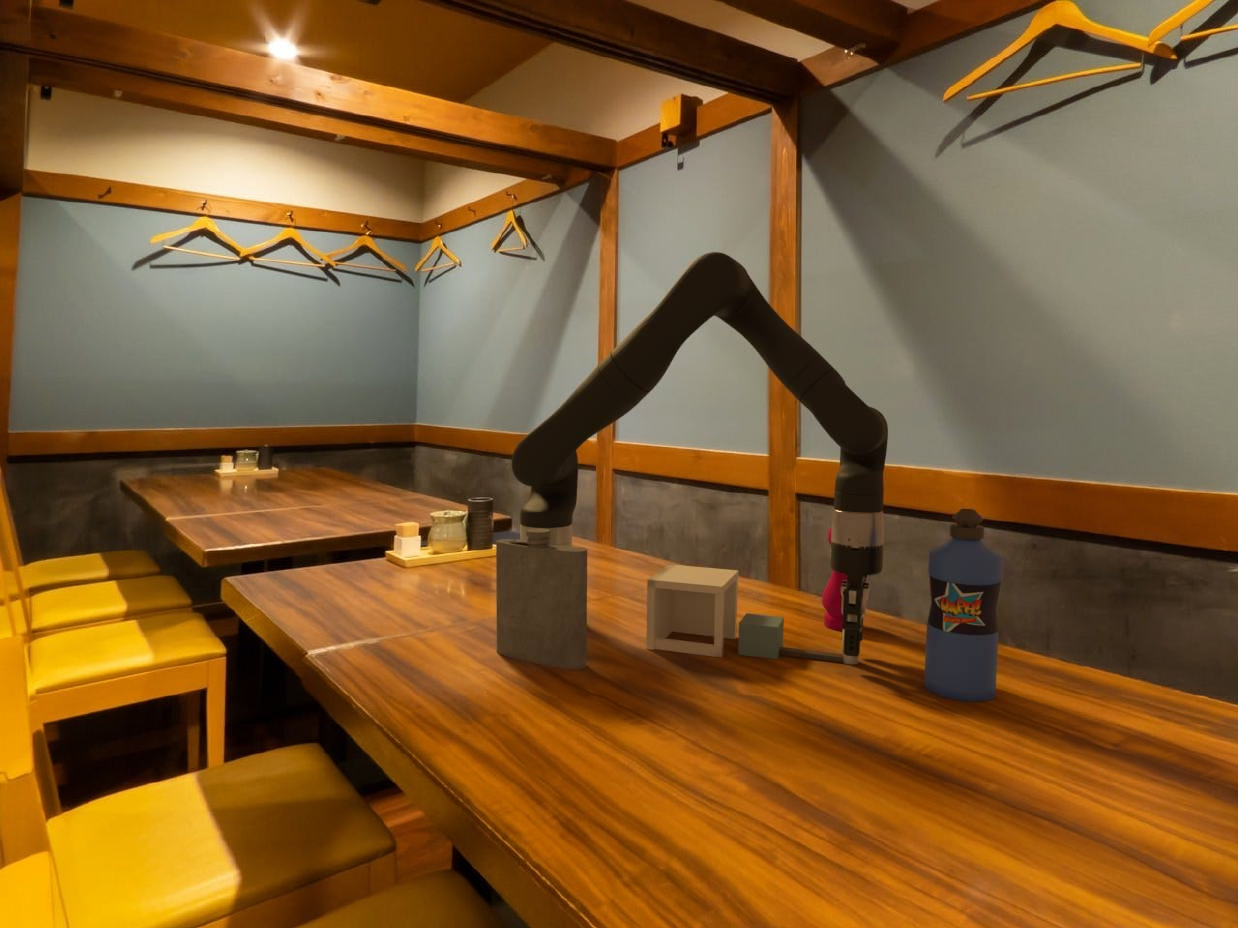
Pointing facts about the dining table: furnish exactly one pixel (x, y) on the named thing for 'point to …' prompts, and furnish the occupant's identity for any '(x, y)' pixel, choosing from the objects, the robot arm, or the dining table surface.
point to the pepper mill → (833, 598)
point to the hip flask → (541, 601)
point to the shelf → (691, 608)
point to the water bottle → (963, 613)
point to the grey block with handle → (778, 640)
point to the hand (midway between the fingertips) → (853, 647)
